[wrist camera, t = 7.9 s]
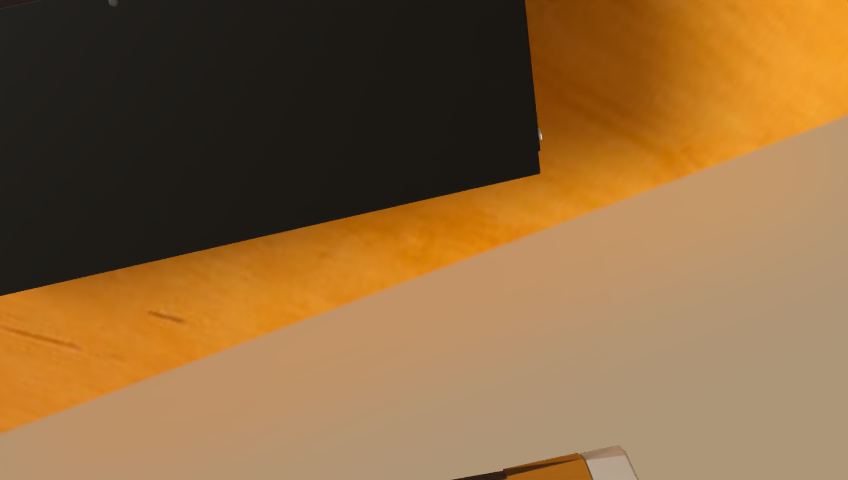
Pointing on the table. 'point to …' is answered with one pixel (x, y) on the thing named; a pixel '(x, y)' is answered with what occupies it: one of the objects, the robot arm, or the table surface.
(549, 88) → the table surface
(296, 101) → the black long block
